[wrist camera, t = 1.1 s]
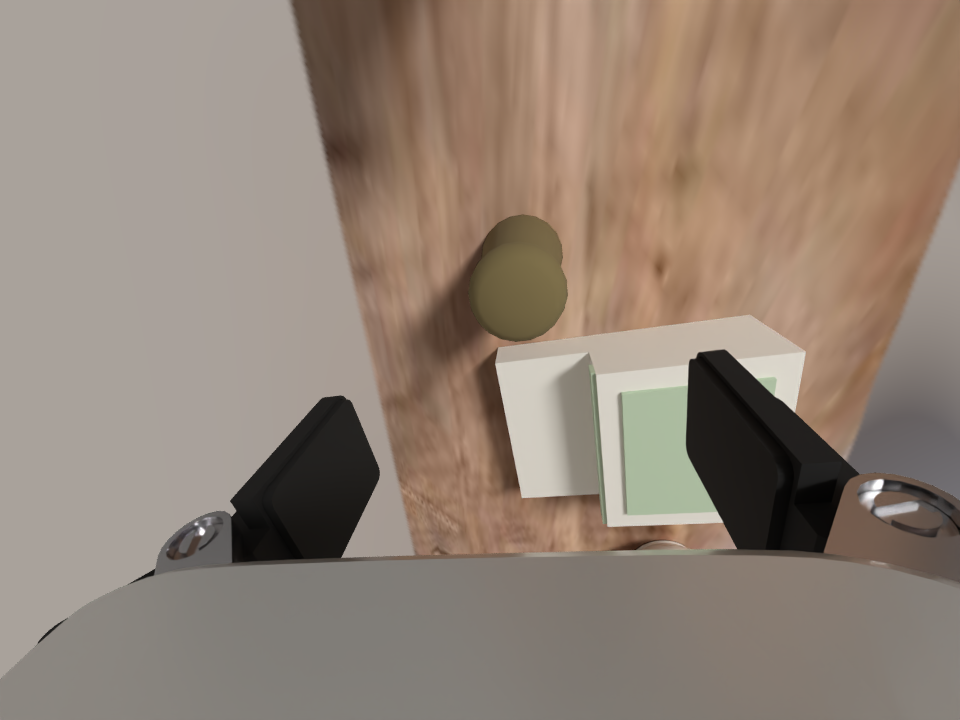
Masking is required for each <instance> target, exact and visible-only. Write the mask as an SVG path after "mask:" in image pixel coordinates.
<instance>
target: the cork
mask: <svg viewBox="0 0 960 720" xmlns="http://www.w3.org/2000/svg"><path fill="white" fill-rule="evenodd" d="M562 259H563V256H562V245H561V242H560V240H559V238H558V235H557V233H556V232H555V231H554V230H553V228H552V227H551V226H550V225H549V224H548V223H547V222H545V221H543V220H541V219H539V218H537V217H534V216H528V215H518V216H512V217H509V218H507V219H505V220H503V221H501V222H499V223H498V224H497V225H496V226H495V227H494V228H493V229H492V230H491V231H490V232H489V234H488V236H487V238H486V240H485V242H484V244H483V249H482V256H481V260H480V261H479V262H478V264H477V265H476V268H475V270H474V272H473V274H472V276H471V278H470V284H469V291H468V295H469V300H470V305H471V310H472V312H473V314H474V315H475V317H476V319H477V321H478V323H479V324H480V325H481V326H482V327H483V328H484V329H485V330H486V331H488V332H489V333H490V334H492V335H494V336H496V337H498V338H500V339H503V340H509V341H515V342H517V341H526V340H531V339H534V338H536V337H538V336H541V335H543V334H544V333H546V332H547V331H548V330H549V329H550V328H552V327H553V326H554V325H555V323H556V322H557V320H558V319H559V317H560V316H561V314H562V312H563V311H564V308H565V304H566V300H567V296H568V293H567V280H566V277H565V275H564V273H563V270H562V268H561V263H562Z"/></svg>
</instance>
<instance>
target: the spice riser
mask: <svg viewBox="0 0 960 720" xmlns="http://www.w3.org/2000/svg"><path fill="white" fill-rule="evenodd" d="M722 349H725V350H727V351H728V352H729V353H730V354H731V355H732V356H733V357H734V358H735V359H736V360H737V361H738V362H739V363H740V364H741V365H742V366H743V367H744V368H746V369H747V370H748V371H749V372H750V373H751V374H752V375H753V376H754V377H755V378H756V379H757V380H758V381H759V382H760V383H761V384H762V385H763V386H764V387H765V388H766V389H767V390H768V391H769V392H771V393H772V394H773V395H774V396H775V397H776V398H779V399H780V400H781V401H783V402H784V403H785V404H786V405H787V406H788V407H789V408H790V409H791V410H792V411H793V412H795V409H796V404H797V398H798V393H799V387H800V381H801V376H802V370H803V365H804V359H805V354H806V351H804V350H802V349H801V348H799V347H798V346H796V345H795V344H793V343H792V342H790V341H789V340H787V339H786V338H784V337H783V336H781V335H780V334H778V333H777V332H775V331H774V330H772V329H771V328H769V327H768V326H766V325H765V324H763V323H762V322H760V321H759V320H757V319H756V318H754V317H753V316H751V315H744V316H736V317H728V318H721V319H713V320H705V321H698V322H690V323H682V324H675V325H667V326H659V327H652V328H644V329H636V330H629V331H621V332H613V333H606V334H598V335H590V336H583V337H575V338H567V339H559V340H552V341H544V342H536V343H529V344H521V345H513V346H506V347H498V352H497V357H496V362H495V365H496V370H497V375H498V380H499V385H500V390H501V395H502V400H503V405H504V410H505V415H506V420H507V425H508V430H509V435H510V440H511V445H512V450H513V455H514V460H515V465H516V470H517V475H518V480H519V485H520V490H521V495H522V498H532V497H551V496H571V495H590V494H599V496H600V508H601V515H602V520H603V524H607V526H608V527H615V526H643V525H671V524H699V523H723V521H722V519H721V517H720V516H719V514H718V512H717V510H716V508H715V506H714V504H713V502H712V501H711V499H710V497H709V495H708V493H707V491H706V489H705V487H704V486H703V484H702V482H701V480H700V478H699V476H698V474H697V472H696V471H695V469H694V467H693V465H692V463H691V461H690V459H689V457H688V454H687V450H686V421H687V393H688V366H689V361H690V359H695V358H696V356H697V354H698V353H699V352H705V351H713V350H722Z"/></svg>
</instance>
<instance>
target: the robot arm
mask: <svg viewBox="0 0 960 720" xmlns="http://www.w3.org/2000/svg"><path fill="white" fill-rule="evenodd" d="M686 450H687V454H688V457H689V459H690V461H691V463H692V465H693V467H694V469H695V471H696V472H697V474H698V476H699V478H700V480H701V482H702V484H703V486H704V487H705V489H706V491H707V493H708V495H709V497H710V499H711V501H712V502H713V504H714V506H715V508H716V510H717V512H718V514H719V516H720V517H721V519H722V521H723V523H724V525H725V527H726V529H727V531H728V532H729V534H730V536H731V538H732V540H733V542H734V544H735V546H736V548H737V549H696V550H623V551H576V552H530V553H491V554H454V555H419V556H385V557H357V558H356V557H355V558H341V557H342V555H343V553H344V551H345V549H346V547H347V544H348V542H349V540H350V538H351V536H352V534H353V532H354V530H355V528H356V526H357V524H358V522H359V520H360V517H361V516H362V513H363V511H364V509H365V507H366V505H367V503H368V501H369V499H370V497H371V495H372V493H373V491H374V489H375V486H376V484H377V482H378V480H379V476H380V471H379V467H378V464H377V462H376V460H375V457H374V455H373V452H372V450H371V448H370V445H369V443H368V440H367V438H366V435H365V433H364V431H363V428H362V426H361V423H360V421H359V419H358V416H357V414H356V411H355V409H354V407H353V404H352V402H351V401H350V400H346V398H345V397H344V396H333V397H325V398H322V399H321V400H320V401H319V402H318V403H317V404H316V405H315V406H314V407H313V408H312V410H311V411H310V412H309V413H308V414H307V415H306V416H305V418H304V419H303V420H302V421H301V422H300V423H299V424H298V425H297V426H296V428H295V429H294V430H293V431H292V432H291V433H290V434H289V435H288V437H287V438H286V439H285V440H284V441H283V442H282V443H281V445H279V447H278V448H277V449H276V450H275V451H274V452H273V453H272V455H271V456H270V457H269V458H268V459H267V460H266V461H265V462H264V463H263V465H262V466H261V467H260V468H259V469H258V470H257V471H256V473H255V474H254V475H253V476H252V477H251V478H250V479H249V480H248V481H247V482H246V483H245V485H244V486H243V487H242V488H241V489H240V490H239V491H238V492H237V494H236V495H235V496H234V497H233V498H232V499H231V501H230V502H231V503H232V504H233V506H234V508H235V509H236V513H235V514H234V515H233V516H232V517H231V516H230V514H228V513H227V512H225V511H216V512H212V513H208V514H205V515H203V516H200V517H198V518H196V519H195V520H193V521H191V522H189V523H188V524H186V525H185V526H183V527H182V528H181V529H179V530H178V531H177V532H176V533H175V534H174V535H173V536H172V537H171V538H169V539H168V541H167V542H166V543H165V545H164V546H163V547H162V549H161V551H160V553H159V555H158V559H157V564H156V568H155V569H154V570H152V571H151V572H149V573H147V574H145V575H144V576H142V577H140V578H138V579H136V580H135V581H133V582H131V583H130V584H128V585H126V586H123V587H120V588H118V589H116V590H114V591H112V592H110V593H107V594H105V595H103V596H102V597H100V598H98V599H96V600H94V601H92V602H90V603H88V604H87V605H85V606H84V607H82V608H80V609H79V610H78V611H76V612H75V613H74V614H72V615H71V616H70V617H69V618H67V619H65V620H63V621H62V622H60V623H58V624H57V625H55V626H54V627H53V628H52V629H50V630H49V631H48V632H47V633H46V634H45V635H44V636H43V637H42V638H41V639H40V640H39V642H38V644H37V645H36V646H35V647H34V648H33V649H32V650H31V651H30V652H29V653H28V654H27V655H25V656H24V657H23V658H22V659H21V660H20V661H19V662H18V663H17V664H16V665H15V666H14V667H13V668H12V669H10V670H9V671H8V672H7V673H6V674H5V675H4V676H3V677H2V678H1V679H0V720H960V500H959V499H957V498H956V497H954V496H953V495H951V494H949V493H947V492H945V491H943V490H941V489H939V488H937V487H935V486H933V485H930V484H927V483H925V482H922V481H919V480H916V479H913V478H909V477H904V476H900V475H895V474H886V473H868V474H859V473H858V472H857V471H856V470H855V469H854V468H852V467H851V466H850V465H849V464H848V463H847V462H846V461H845V460H844V459H843V458H842V457H841V456H840V455H839V454H838V453H837V452H836V451H835V450H834V449H832V448H831V447H830V446H829V445H828V444H827V443H826V442H825V441H824V440H823V439H822V438H821V437H820V436H819V435H818V434H817V433H816V432H815V431H814V430H812V429H811V428H810V427H809V426H808V425H807V424H806V423H805V422H804V421H803V420H802V419H801V418H800V417H799V416H798V415H797V414H796V413H795V412H793V411H792V410H791V409H790V408H789V407H788V406H787V405H786V404H785V403H784V402H783V401H781V400H780V399H779V398H776V397H775V396H774V395H773V394H772V393H771V392H769V391H768V390H767V389H766V388H765V387H764V386H763V385H762V384H761V383H760V382H759V381H758V380H757V379H756V378H755V377H754V376H753V375H752V374H751V373H750V372H749V371H748V370H747V369H746V368H744V367H743V366H742V365H741V364H740V363H739V362H738V361H737V360H736V359H735V358H734V357H733V356H732V355H731V354H730V353H729V352H728V351H727V350H725V349H722V350H713V351H705V352H699V353H698V354H697V356H696V358H695V359H690V361H689V366H688V393H687V421H686Z"/></svg>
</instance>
